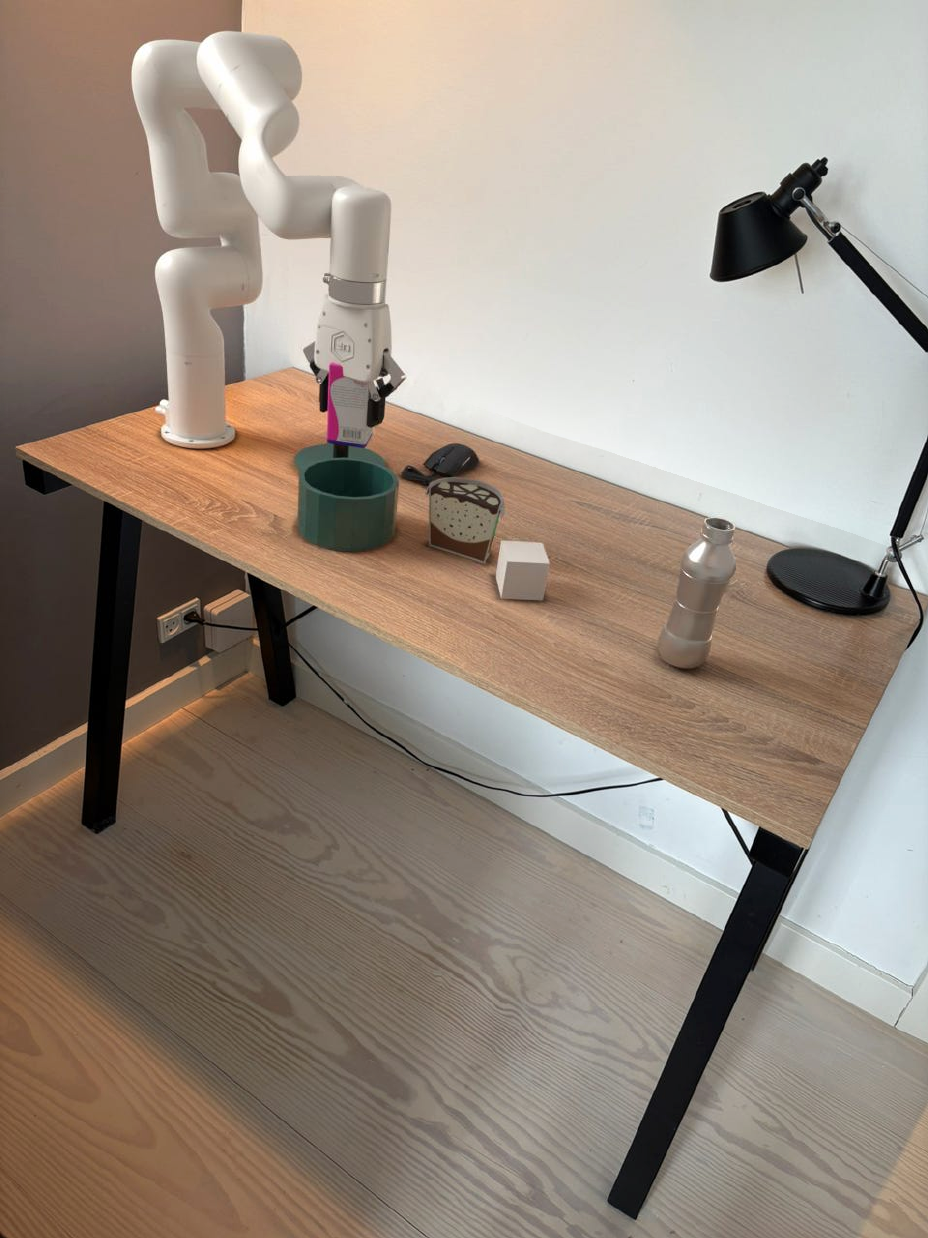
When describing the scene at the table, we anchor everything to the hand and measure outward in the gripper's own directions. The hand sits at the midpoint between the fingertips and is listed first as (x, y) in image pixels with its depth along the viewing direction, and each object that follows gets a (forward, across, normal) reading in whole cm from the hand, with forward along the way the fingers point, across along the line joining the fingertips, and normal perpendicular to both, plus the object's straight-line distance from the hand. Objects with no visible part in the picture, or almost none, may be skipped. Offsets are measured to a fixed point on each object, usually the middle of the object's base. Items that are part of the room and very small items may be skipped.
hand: (350, 416), depth 133 cm
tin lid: (+17, -14, +18) cm, 29 cm away
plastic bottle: (+18, +54, -2) cm, 57 cm away
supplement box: (+4, 0, 0) cm, 4 cm away
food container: (+18, +17, +7) cm, 26 cm away
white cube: (+18, +29, +1) cm, 34 cm away
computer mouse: (+18, +3, +29) cm, 34 cm away
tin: (+18, 0, 0) cm, 18 cm away
